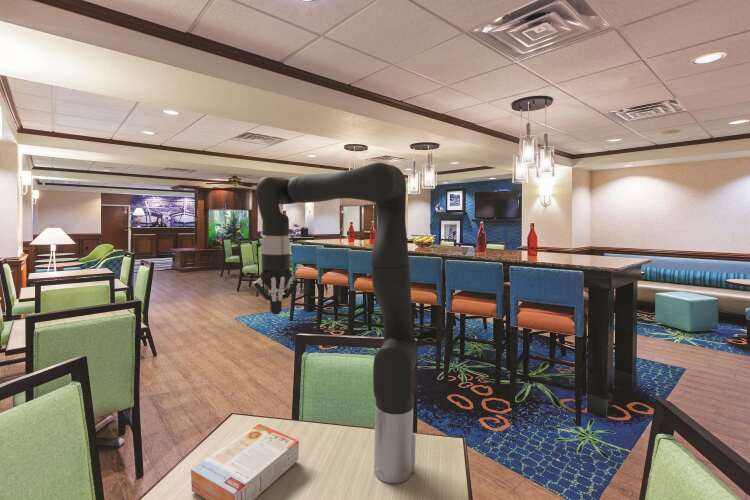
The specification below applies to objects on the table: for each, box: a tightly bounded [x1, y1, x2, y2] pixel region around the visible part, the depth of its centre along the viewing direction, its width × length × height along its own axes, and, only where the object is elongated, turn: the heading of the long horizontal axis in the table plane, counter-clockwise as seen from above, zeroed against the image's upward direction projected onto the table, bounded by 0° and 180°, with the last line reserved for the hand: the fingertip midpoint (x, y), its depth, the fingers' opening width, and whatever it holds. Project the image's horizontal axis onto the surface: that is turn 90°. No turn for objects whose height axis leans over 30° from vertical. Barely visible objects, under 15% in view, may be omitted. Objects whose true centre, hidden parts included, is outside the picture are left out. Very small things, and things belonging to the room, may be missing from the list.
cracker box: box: [190, 423, 300, 500], centre depth 92 cm, size 14×6×21 cm
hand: (275, 313), depth 108 cm, fingers closed
